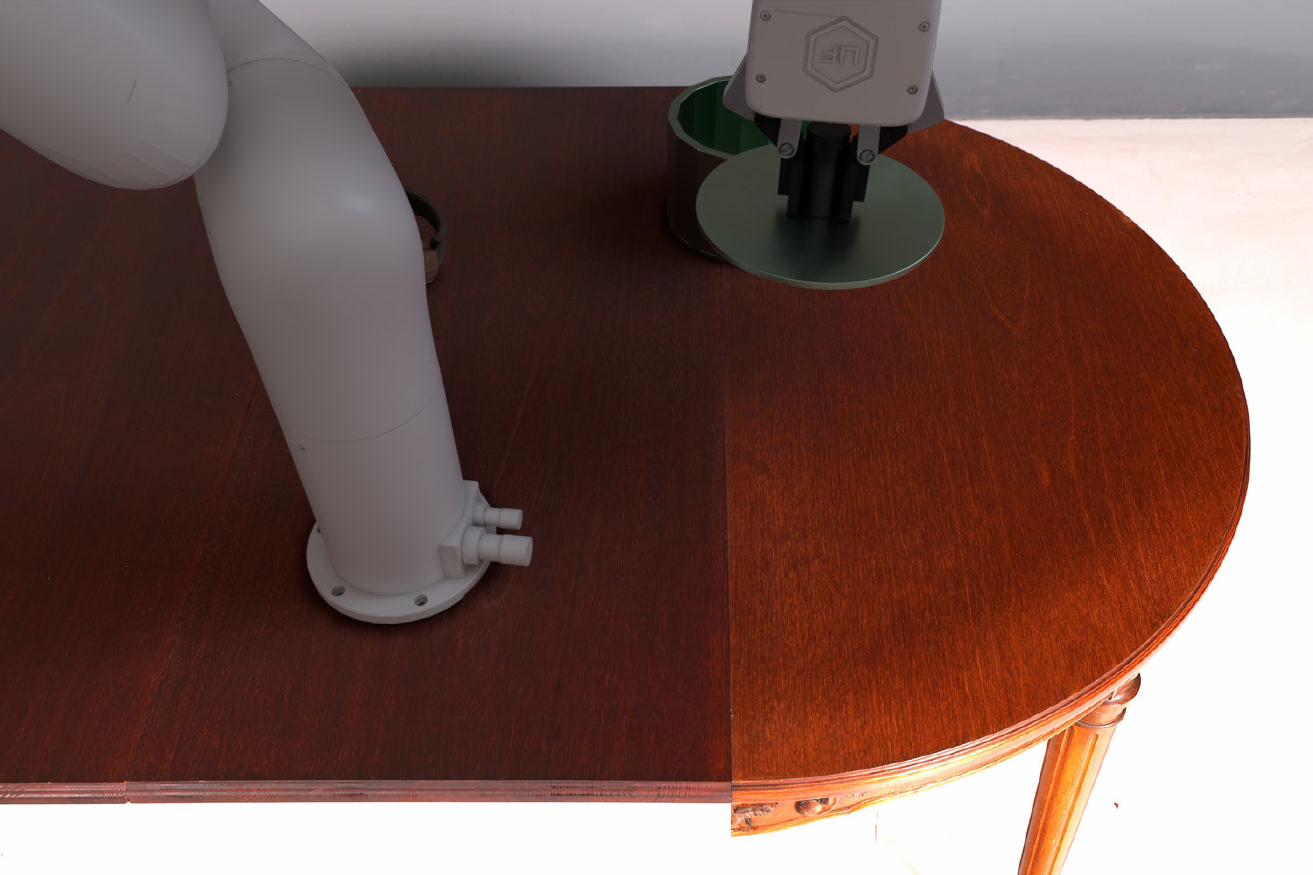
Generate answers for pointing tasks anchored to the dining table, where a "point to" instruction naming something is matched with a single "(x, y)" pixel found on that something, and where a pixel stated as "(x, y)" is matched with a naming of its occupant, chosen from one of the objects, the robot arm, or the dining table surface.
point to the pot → (702, 153)
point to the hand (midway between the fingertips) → (819, 203)
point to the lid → (819, 217)
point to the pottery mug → (437, 242)
